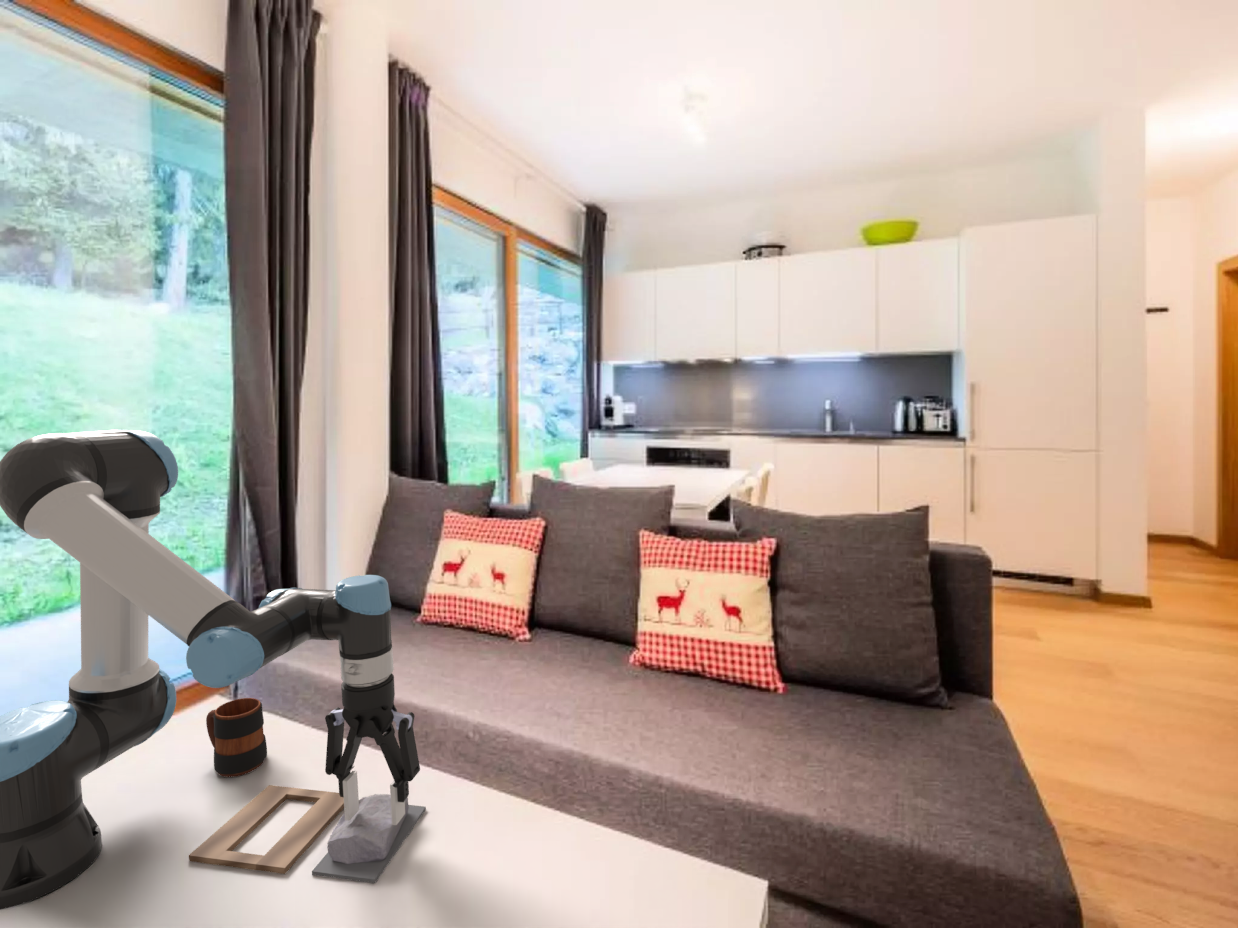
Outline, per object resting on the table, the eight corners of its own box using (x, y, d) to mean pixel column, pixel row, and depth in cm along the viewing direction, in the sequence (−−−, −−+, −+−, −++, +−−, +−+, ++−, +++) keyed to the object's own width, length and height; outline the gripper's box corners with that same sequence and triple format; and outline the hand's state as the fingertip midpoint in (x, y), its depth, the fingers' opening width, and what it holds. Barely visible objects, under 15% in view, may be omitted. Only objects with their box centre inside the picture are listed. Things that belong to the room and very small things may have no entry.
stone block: (324, 875, 91) (390, 861, 91) (317, 845, 90) (383, 831, 90) (356, 823, 102) (414, 810, 103) (349, 796, 102) (408, 784, 102)
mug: (230, 746, 122) (226, 690, 121) (278, 756, 119) (274, 699, 117) (189, 771, 114) (185, 711, 113) (239, 782, 110) (235, 722, 109)
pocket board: (189, 861, 92) (188, 855, 92) (269, 790, 108) (269, 784, 108) (285, 873, 89) (284, 867, 89) (351, 799, 106) (351, 793, 106)
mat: (312, 874, 89) (311, 870, 89) (371, 803, 105) (371, 800, 105) (375, 883, 88) (374, 879, 88) (425, 809, 104) (425, 806, 103)
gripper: (292, 684, 91) (301, 827, 93) (417, 691, 88) (424, 839, 90) (323, 663, 98) (331, 796, 101) (440, 669, 96) (445, 806, 98)
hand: (375, 816), depth 95 cm, fingers open, 7 cm apart
